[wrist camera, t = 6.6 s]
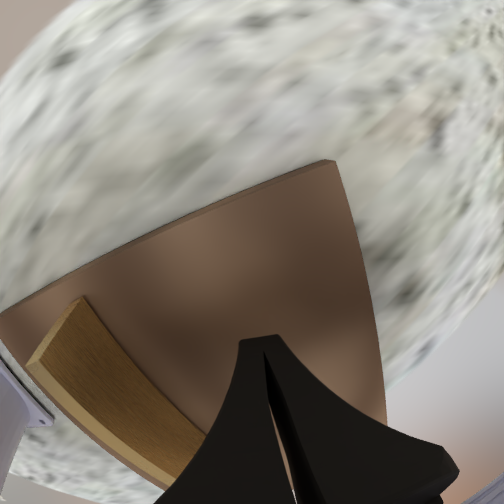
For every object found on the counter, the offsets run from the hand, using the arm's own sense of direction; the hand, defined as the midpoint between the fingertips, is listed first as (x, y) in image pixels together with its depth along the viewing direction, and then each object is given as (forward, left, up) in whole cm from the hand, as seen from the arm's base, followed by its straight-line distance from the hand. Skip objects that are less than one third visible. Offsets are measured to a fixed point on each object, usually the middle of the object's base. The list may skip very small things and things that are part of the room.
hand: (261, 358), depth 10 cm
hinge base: (-4, -7, -3) cm, 8 cm away
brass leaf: (-5, -2, -1) cm, 6 cm away
